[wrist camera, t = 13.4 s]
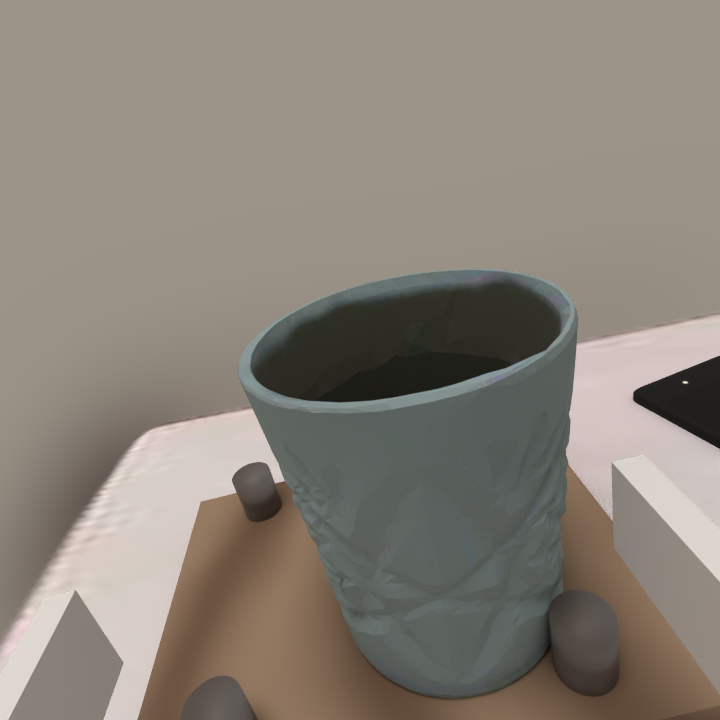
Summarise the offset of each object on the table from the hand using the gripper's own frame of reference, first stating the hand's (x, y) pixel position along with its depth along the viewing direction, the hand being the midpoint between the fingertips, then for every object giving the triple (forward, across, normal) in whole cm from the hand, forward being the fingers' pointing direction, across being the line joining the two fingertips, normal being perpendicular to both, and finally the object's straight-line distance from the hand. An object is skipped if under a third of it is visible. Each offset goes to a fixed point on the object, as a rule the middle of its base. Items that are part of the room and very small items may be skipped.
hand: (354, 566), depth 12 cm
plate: (+7, 0, -10) cm, 12 cm away
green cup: (+5, +3, -8) cm, 10 cm away
